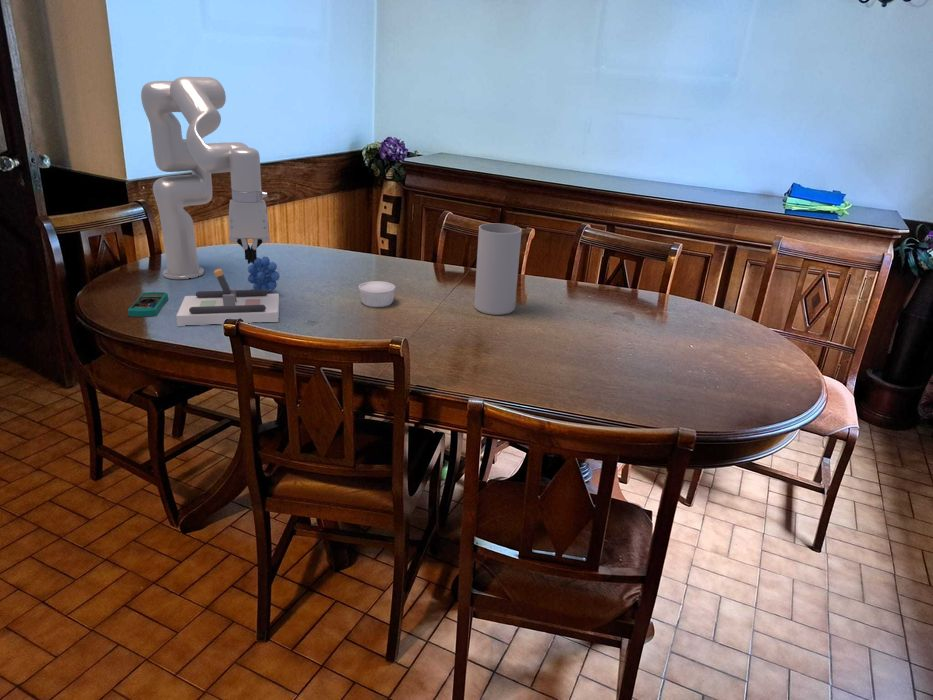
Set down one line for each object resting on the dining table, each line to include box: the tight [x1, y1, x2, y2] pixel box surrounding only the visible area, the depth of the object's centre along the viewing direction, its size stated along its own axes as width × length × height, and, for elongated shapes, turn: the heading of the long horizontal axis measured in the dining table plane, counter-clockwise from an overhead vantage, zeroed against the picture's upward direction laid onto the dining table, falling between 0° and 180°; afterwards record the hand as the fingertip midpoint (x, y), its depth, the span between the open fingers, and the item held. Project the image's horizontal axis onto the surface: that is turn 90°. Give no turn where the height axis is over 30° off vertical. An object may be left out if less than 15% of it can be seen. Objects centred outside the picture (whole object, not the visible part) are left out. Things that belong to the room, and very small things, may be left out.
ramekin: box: [358, 280, 396, 308], centre depth 199 cm, size 11×11×5 cm
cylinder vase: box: [473, 222, 523, 316], centre depth 195 cm, size 12×12×25 cm
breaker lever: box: [213, 267, 235, 296], centre depth 181 cm, size 3×2×10 cm
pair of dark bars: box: [189, 289, 269, 314], centre depth 183 cm, size 15×20×2 cm
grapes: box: [247, 255, 280, 293], centre depth 200 cm, size 12×7×12 cm, turn 68°
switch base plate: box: [176, 288, 280, 327], centre depth 183 cm, size 16×26×6 cm, turn 104°
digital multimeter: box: [127, 291, 169, 318], centre depth 185 cm, size 7×15×3 cm, turn 10°
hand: (251, 262), depth 181 cm, fingers closed
